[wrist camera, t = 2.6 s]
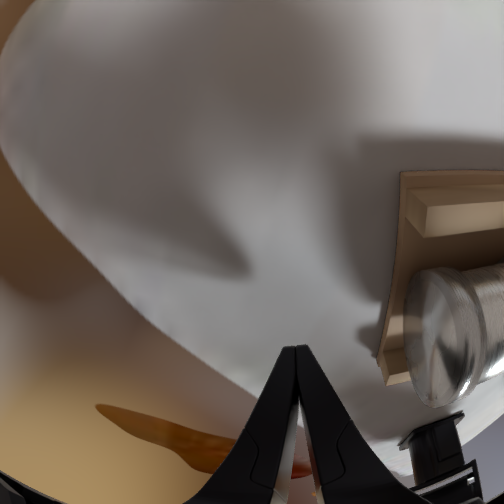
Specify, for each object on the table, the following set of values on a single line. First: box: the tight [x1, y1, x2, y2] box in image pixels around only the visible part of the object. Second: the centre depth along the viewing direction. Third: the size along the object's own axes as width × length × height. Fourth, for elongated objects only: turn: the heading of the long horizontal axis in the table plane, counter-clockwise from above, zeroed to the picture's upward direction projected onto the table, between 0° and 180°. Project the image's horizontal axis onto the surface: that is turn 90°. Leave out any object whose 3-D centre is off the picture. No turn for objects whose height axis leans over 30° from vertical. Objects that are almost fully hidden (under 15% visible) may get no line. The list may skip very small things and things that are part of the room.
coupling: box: [403, 257, 504, 408], centre depth 8 cm, size 5×6×5 cm
